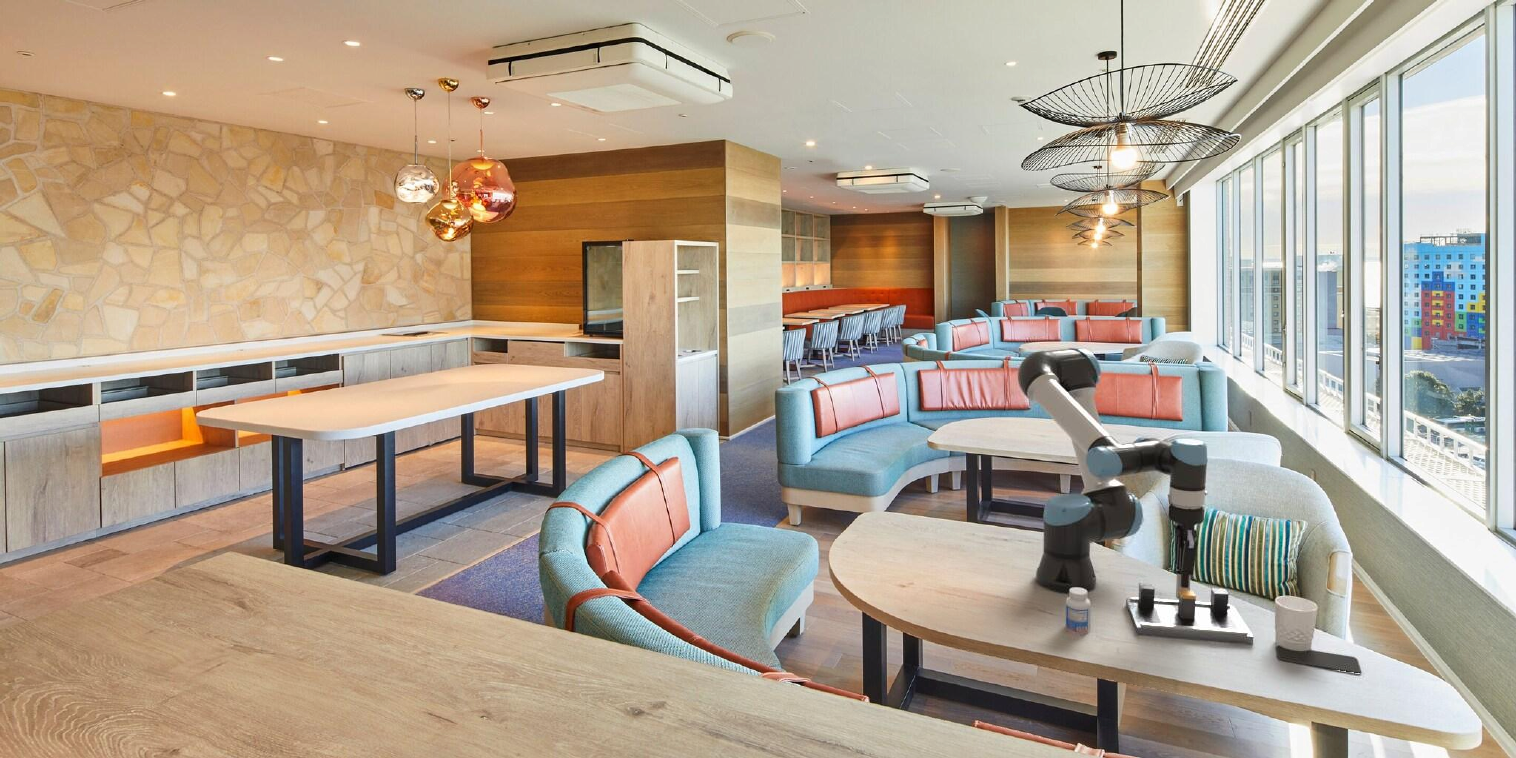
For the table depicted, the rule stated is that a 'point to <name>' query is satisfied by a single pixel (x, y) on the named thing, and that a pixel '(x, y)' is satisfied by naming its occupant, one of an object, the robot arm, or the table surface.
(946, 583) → the table surface
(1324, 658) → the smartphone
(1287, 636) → the white cup
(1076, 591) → the pill bottle
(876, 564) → the table surface
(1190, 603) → the breaker
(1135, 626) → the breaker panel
